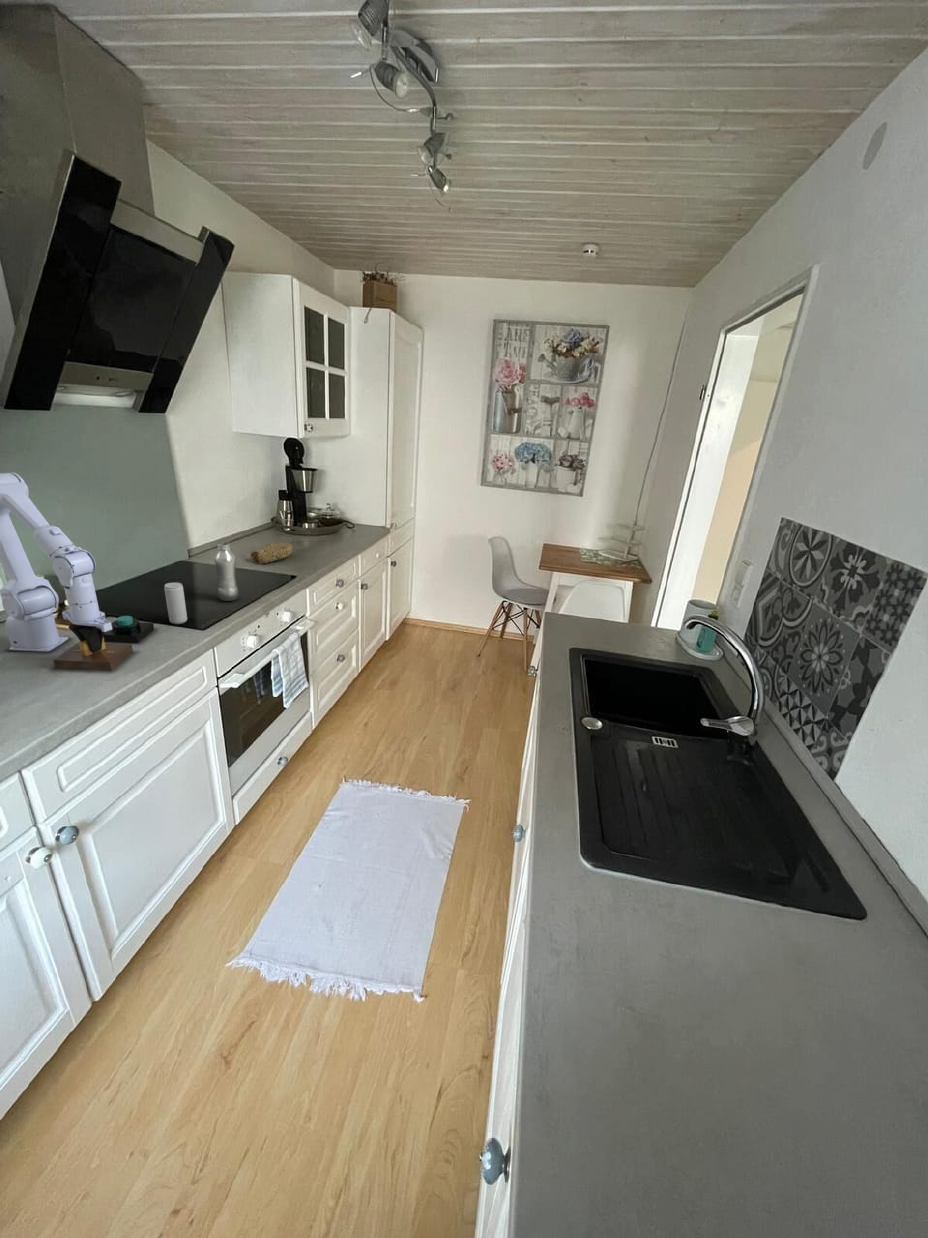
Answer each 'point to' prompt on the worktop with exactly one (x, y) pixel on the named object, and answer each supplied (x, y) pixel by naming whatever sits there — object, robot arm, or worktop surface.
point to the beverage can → (175, 603)
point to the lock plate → (94, 658)
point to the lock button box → (128, 632)
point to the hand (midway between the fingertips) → (93, 650)
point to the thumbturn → (85, 648)
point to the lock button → (124, 620)
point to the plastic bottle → (226, 573)
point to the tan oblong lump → (272, 552)
